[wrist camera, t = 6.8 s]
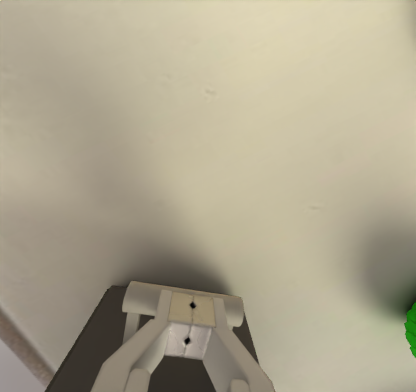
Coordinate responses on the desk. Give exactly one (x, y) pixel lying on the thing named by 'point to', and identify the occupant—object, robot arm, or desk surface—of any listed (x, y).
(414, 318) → the ornament
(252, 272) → the desk surface
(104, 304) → the drawer
